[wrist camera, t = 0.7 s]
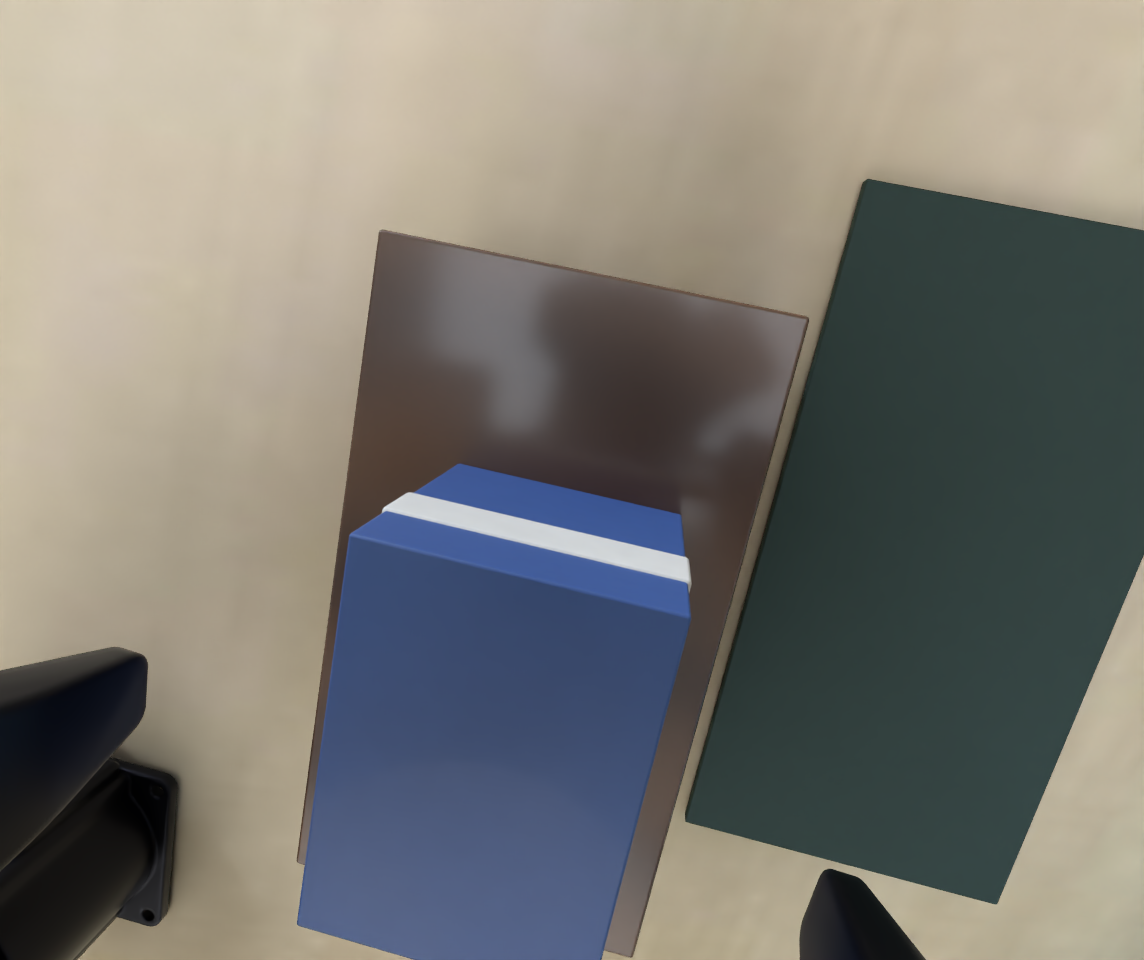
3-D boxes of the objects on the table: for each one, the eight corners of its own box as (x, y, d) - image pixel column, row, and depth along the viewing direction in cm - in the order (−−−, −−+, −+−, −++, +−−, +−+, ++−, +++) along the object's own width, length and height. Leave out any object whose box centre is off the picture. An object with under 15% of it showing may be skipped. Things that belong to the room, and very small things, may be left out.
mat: (991, 895, 22) (997, 905, 22) (684, 813, 23) (684, 822, 23) (1257, 255, 18) (1271, 254, 17) (862, 181, 18) (867, 178, 18)
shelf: (640, 802, 23) (632, 959, 17) (384, 734, 24) (295, 863, 18) (766, 321, 20) (810, 316, 14) (460, 257, 20) (378, 228, 14)
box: (614, 794, 16) (590, 1015, 11) (409, 739, 17) (292, 928, 12) (685, 512, 15) (696, 614, 10) (456, 459, 15) (345, 528, 10)
